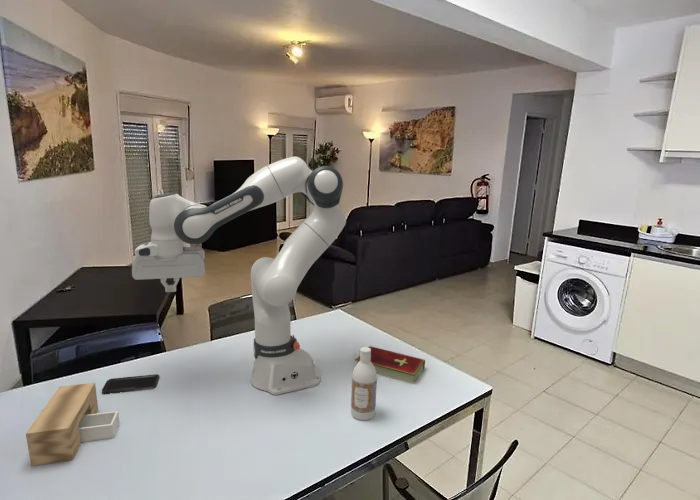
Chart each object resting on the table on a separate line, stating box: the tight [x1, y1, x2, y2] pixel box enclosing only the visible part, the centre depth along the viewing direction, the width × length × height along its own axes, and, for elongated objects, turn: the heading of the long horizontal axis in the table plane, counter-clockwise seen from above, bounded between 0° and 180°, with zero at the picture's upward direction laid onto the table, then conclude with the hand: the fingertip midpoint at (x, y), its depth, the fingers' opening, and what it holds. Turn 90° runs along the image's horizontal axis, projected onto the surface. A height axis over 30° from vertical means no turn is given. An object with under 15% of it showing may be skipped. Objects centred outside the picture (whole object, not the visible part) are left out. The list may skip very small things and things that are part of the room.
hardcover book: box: [354, 345, 426, 384], centre depth 145 cm, size 12×21×4 cm, turn 63°
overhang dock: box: [25, 382, 99, 467], centre depth 106 cm, size 8×20×8 cm, turn 15°
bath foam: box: [350, 346, 378, 421], centre depth 118 cm, size 7×7×20 cm
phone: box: [101, 373, 160, 395], centre depth 131 cm, size 8×1×15 cm
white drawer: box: [78, 410, 120, 443], centre depth 108 cm, size 14×6×4 cm, turn 105°
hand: (170, 291), depth 129 cm, fingers closed
